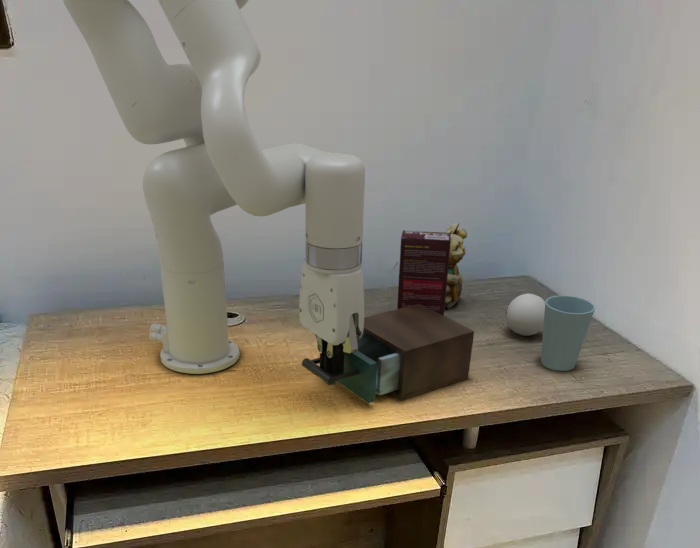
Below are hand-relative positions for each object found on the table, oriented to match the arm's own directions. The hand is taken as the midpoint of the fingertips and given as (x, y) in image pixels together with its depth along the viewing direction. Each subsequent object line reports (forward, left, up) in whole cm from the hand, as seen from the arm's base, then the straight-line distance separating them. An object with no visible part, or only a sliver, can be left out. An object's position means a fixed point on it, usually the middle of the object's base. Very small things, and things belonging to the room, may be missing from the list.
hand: (331, 377), depth 108 cm
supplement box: (+5, +33, -4) cm, 34 cm away
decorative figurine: (+6, +44, -4) cm, 45 cm away
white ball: (+23, +36, -4) cm, 43 cm away
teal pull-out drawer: (+3, +5, -2) cm, 6 cm away
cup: (+31, +25, -4) cm, 40 cm away
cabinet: (+9, +12, -3) cm, 15 cm away
